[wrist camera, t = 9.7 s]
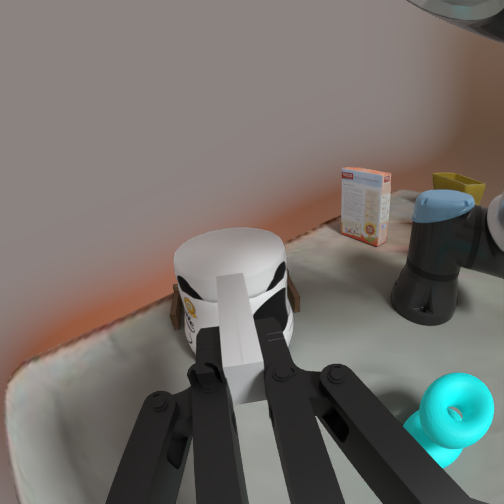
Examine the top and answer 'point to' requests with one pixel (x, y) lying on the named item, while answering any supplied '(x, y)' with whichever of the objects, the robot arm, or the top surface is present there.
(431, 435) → the donuts
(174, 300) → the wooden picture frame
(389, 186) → the cracker box
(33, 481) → the top surface
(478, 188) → the flower pot
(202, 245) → the milk container
